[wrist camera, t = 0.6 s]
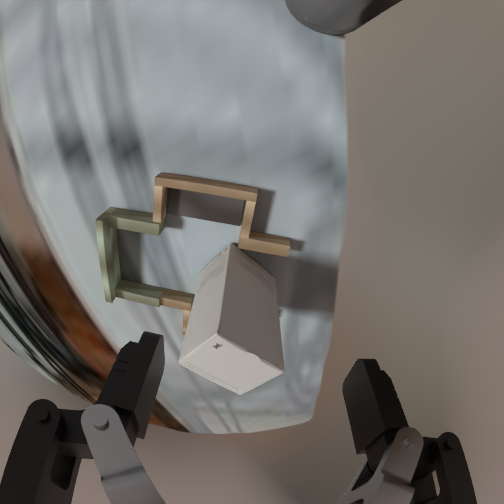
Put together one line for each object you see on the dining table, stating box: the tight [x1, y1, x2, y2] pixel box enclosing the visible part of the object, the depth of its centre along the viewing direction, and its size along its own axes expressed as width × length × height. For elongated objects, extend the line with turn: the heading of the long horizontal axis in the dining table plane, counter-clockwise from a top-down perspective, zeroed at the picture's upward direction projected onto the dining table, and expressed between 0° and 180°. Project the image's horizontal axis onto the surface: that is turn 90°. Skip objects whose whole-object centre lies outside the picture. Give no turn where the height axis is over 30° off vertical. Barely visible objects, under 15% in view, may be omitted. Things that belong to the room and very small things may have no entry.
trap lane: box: [96, 173, 291, 335], centre depth 35 cm, size 24×24×4 cm
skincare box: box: [178, 243, 284, 395], centre depth 30 cm, size 8×7×16 cm
